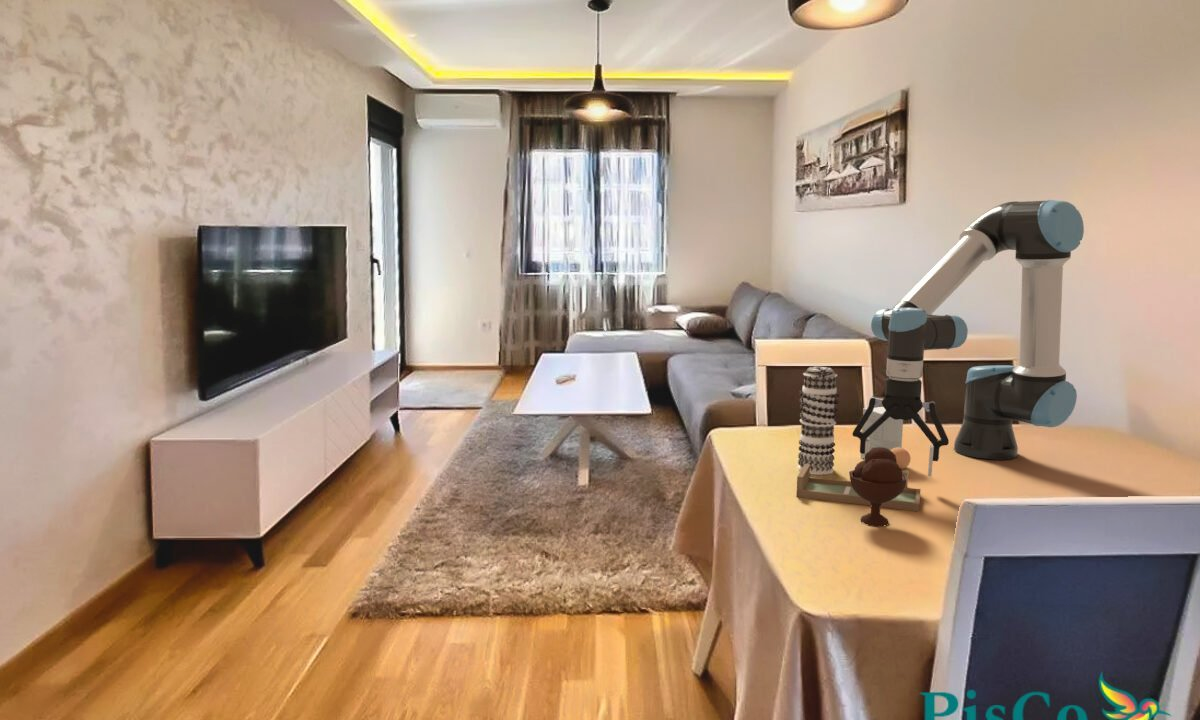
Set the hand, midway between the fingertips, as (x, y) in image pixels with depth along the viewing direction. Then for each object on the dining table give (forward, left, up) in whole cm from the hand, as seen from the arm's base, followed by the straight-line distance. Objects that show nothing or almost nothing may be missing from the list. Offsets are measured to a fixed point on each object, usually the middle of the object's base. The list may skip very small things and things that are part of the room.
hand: (897, 471), depth 189 cm
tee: (0, 0, -4) cm, 4 cm away
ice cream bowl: (+3, +25, -4) cm, 25 cm away
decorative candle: (+19, -8, -4) cm, 21 cm away
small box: (+5, -23, -4) cm, 24 cm away
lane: (+7, +9, -4) cm, 13 cm away
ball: (0, 0, +3) cm, 3 cm away
